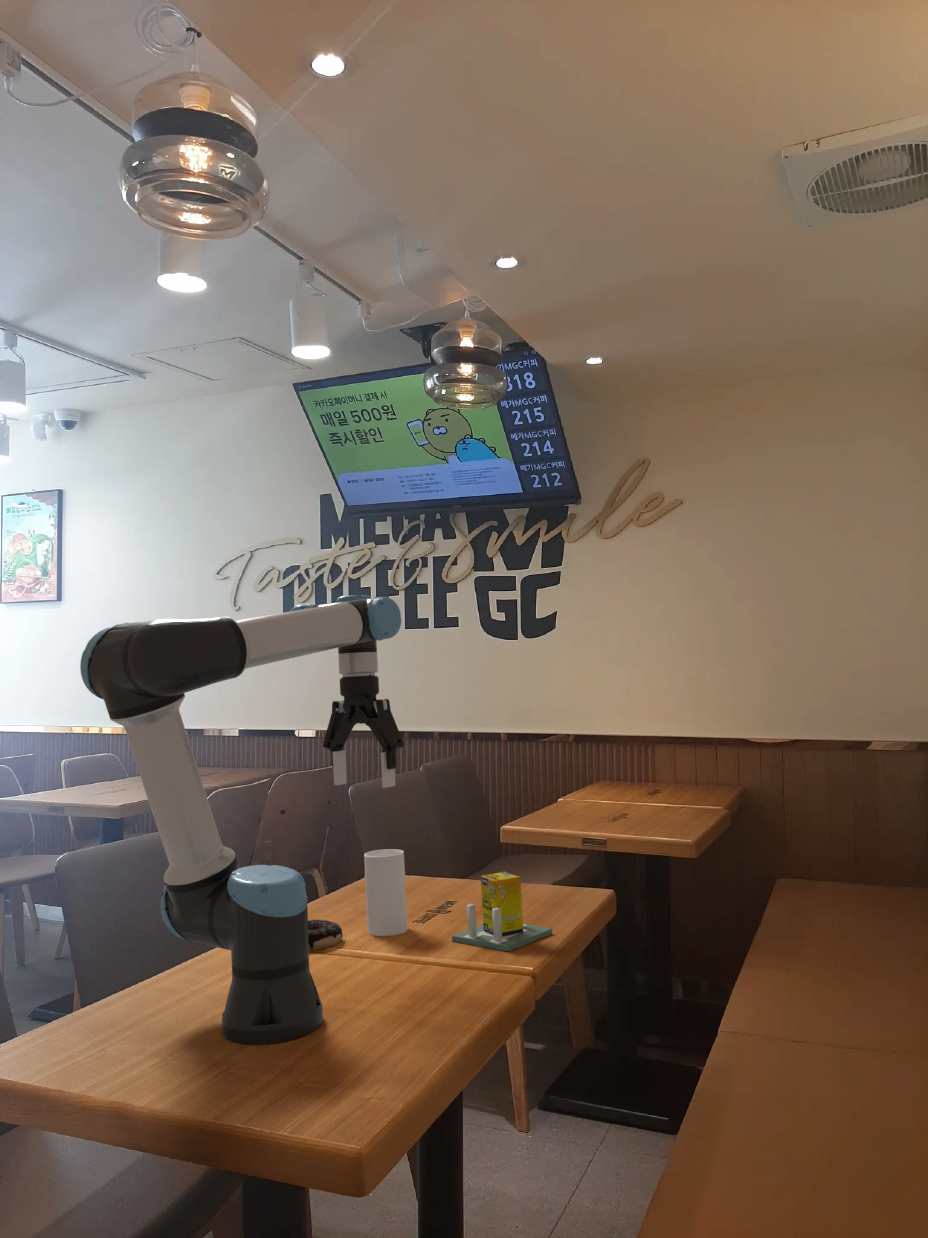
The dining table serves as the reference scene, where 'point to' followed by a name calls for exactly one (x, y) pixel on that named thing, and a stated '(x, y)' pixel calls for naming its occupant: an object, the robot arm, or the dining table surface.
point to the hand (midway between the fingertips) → (364, 785)
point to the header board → (507, 944)
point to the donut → (323, 934)
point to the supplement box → (502, 902)
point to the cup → (385, 892)
